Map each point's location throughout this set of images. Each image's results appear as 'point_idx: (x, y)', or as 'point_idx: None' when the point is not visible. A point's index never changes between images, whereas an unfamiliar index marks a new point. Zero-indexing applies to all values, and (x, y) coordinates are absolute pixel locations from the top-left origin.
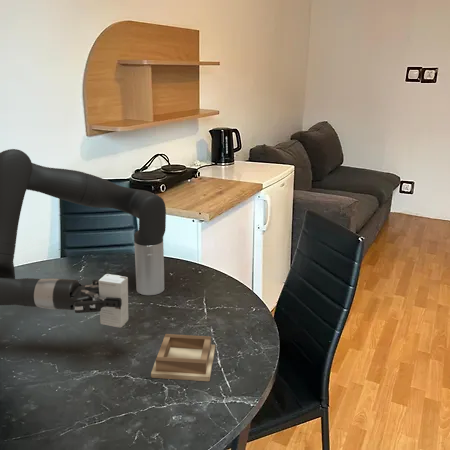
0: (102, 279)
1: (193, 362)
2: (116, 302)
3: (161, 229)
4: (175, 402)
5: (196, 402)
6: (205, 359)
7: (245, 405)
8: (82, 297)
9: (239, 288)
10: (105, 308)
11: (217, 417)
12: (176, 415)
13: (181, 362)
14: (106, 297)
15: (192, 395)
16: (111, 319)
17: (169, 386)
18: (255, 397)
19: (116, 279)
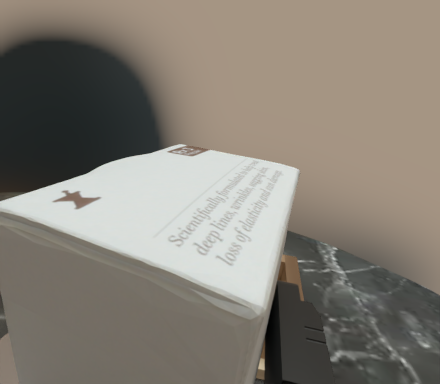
0: (228, 251)
1: (298, 272)
2: (314, 314)
3: None
4: (380, 339)
5: (362, 305)
6: (283, 256)
7: (339, 253)
8: None
9: None
10: None
11: (383, 284)
12: (417, 340)
13: (301, 291)
14: (288, 379)
15: (345, 309)
16: None
17: (332, 347)
18: (318, 242)
19: (232, 169)
